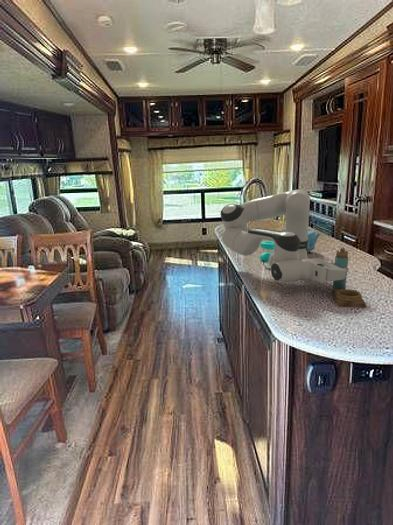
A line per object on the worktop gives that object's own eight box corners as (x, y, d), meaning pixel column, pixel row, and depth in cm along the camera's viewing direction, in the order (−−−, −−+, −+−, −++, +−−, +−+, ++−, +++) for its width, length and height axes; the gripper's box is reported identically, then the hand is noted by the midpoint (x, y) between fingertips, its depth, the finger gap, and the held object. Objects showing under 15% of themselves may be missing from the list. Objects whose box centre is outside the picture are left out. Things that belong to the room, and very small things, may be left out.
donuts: (281, 241, 196) (276, 244, 187) (280, 258, 199) (275, 262, 190) (263, 239, 200) (258, 243, 192) (263, 256, 203) (257, 260, 195)
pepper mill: (333, 290, 145) (337, 248, 141) (331, 287, 150) (335, 246, 146) (346, 291, 144) (350, 249, 140) (344, 287, 149) (348, 246, 145)
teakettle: (292, 257, 202) (293, 231, 198) (280, 249, 220) (281, 226, 216) (323, 255, 204) (325, 230, 201) (308, 248, 222) (310, 225, 219)
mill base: (337, 306, 130) (338, 298, 129) (331, 292, 144) (331, 285, 143) (365, 307, 128) (366, 299, 127) (356, 293, 142) (356, 286, 141)
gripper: (299, 269, 153) (328, 267, 156) (324, 284, 134) (357, 281, 136) (300, 255, 152) (329, 254, 154) (325, 268, 132) (358, 266, 135)
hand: (342, 267), depth 145 cm, fingers closed on pepper mill, 5 cm apart
